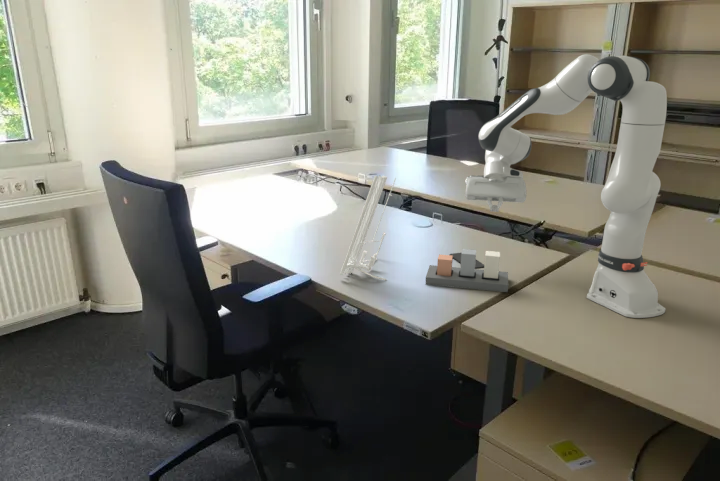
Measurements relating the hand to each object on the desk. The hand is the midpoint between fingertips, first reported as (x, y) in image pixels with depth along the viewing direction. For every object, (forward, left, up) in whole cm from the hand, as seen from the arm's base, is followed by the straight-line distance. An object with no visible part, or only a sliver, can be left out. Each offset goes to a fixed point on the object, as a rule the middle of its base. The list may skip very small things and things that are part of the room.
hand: (494, 210), depth 179 cm
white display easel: (+9, +39, -22) cm, 45 cm away
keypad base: (-8, +12, -21) cm, 26 cm away
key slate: (-8, +12, -18) cm, 23 cm away
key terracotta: (-4, +19, -21) cm, 28 cm away
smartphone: (+10, +4, -22) cm, 24 cm away
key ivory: (-11, +6, -18) cm, 22 cm away
